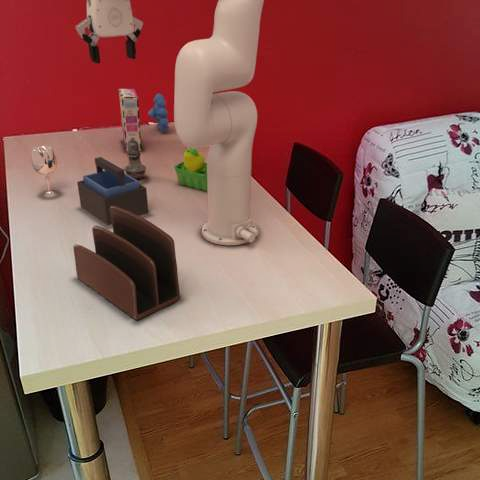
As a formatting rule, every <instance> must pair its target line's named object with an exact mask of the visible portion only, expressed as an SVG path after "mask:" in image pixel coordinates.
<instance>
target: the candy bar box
mask: <svg viewBox="0 0 480 480" xmlns="http://www.w3.org/2000/svg"><path fill="white" fill-rule="evenodd" d="M118 94H119V106H120V108H119V109H120V119H121V129H122V141H123V144H124V147H125V152H127V153H128V145H127V144H128V142H129V141H131V140H132V137H133V140H134V141H137V142H138V145H139V152H142V150H143V148H142V135H141V134H142V133H141V120H140V119H141V118H140V108H139V107H140V106H139V105H140V104H139V96H138V95H137V92H136V89H135V88H118Z"/></svg>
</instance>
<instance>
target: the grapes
mask: <svg viewBox="0 0 480 480" xmlns="http://www.w3.org/2000/svg"><path fill="white" fill-rule="evenodd" d="M152 100H153V101H152V102H153V103H154V106H153V107H152V108H151V109H149V111H148V112H147V115H148V116H149V117H150V118H151V119H154V120H155V121H156V123H157V124H156V127H157V128H158V130H159V131H161V132H162V133H166V132H167V131H168V129H169V126H168V125H169V123H170V121H169V120H168V119H167V116H168V114H169V111H168V110H167V108H165V107H166V105H167V101H166V100H165V97H164V95H163V94H162V93H160V92H159V93H157V94H156V95H155V97H154V98H153V99H152Z"/></svg>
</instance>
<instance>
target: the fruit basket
mask: <svg viewBox="0 0 480 480" xmlns="http://www.w3.org/2000/svg"><path fill="white" fill-rule="evenodd" d="M173 169H174V170H175V172H176V176H177V179H178V182H179V184H180V185H182V186H187V187H190V188H194V189H198V190H202V191H205V192H208V189H207V162H205V156H204V154H202V153H200V152H199V151H198V150H197V149H194V148H189V147H188V148H187V149H185V151H184V152H183V161H182V162H180V163H177V164H175V165H174V166H173Z"/></svg>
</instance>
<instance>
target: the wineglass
mask: <svg viewBox="0 0 480 480" xmlns="http://www.w3.org/2000/svg"><path fill="white" fill-rule="evenodd" d="M30 155H31V158H30V159H31V165H32V169H33V170H34V171H35V172H36V173H37V174H40V175H44V179H45V181H46V186H47V191H46V192H45V195H53V194H54V193H55V192H54V191H53V190H52V189H51V186H50V176H49V175H50V174H51V175H52V174H53V173H54V172H55V171H56V170H57V167H58V161H57V156H56V154H55V151H54V149H53V147H52V146H48V145H39V146H34V147H33V148H32V149H31V154H30Z"/></svg>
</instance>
